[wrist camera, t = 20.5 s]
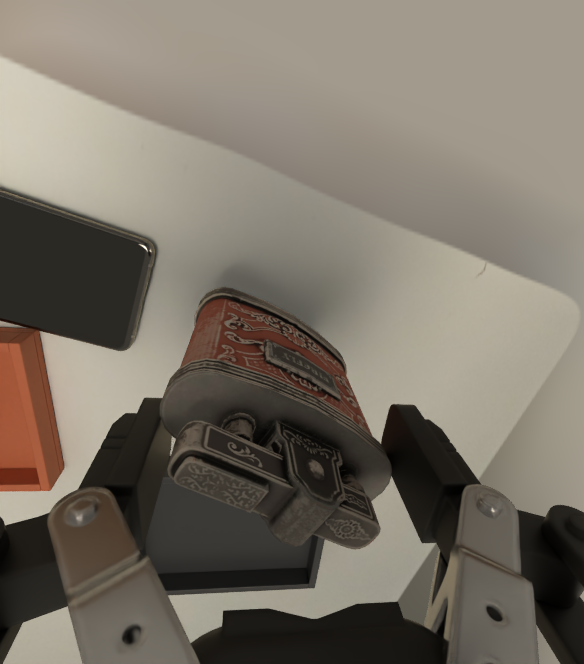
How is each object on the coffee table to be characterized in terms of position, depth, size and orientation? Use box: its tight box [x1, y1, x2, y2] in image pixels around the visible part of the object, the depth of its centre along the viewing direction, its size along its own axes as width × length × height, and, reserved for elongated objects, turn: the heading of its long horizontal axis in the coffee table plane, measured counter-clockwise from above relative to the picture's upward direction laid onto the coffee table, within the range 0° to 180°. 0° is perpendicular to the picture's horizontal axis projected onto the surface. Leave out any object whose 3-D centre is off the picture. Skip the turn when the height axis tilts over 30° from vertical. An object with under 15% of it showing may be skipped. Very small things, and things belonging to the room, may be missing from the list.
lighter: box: [160, 287, 392, 549], centre depth 14 cm, size 8×3×10 cm, turn 56°
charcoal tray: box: [139, 456, 325, 595], centre depth 30 cm, size 15×13×2 cm
